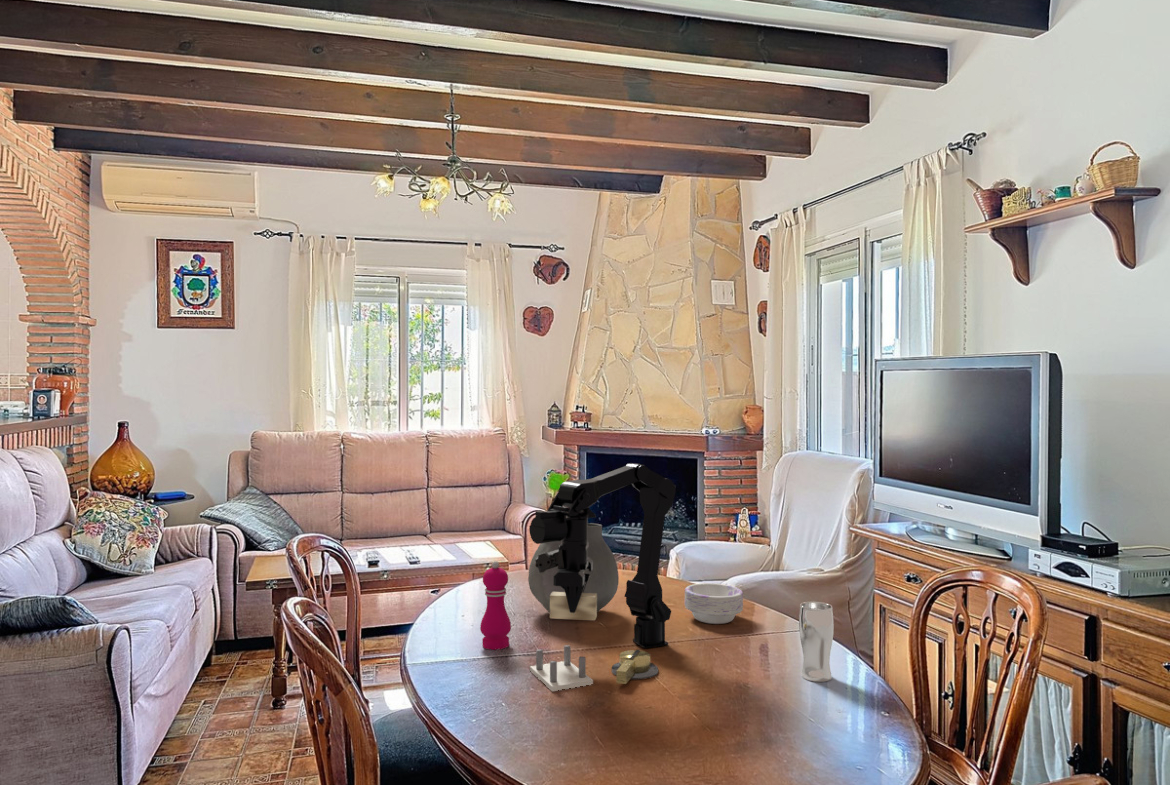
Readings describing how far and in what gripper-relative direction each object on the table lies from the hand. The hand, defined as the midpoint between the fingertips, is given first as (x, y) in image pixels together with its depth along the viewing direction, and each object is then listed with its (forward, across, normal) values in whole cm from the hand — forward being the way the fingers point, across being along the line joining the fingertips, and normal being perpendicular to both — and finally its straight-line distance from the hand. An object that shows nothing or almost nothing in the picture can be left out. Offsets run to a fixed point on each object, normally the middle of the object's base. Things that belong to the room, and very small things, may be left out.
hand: (573, 610), depth 175 cm
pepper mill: (+12, -11, -20) cm, 26 cm away
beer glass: (+12, +1, +52) cm, 53 cm away
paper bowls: (+11, -39, +32) cm, 52 cm away
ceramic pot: (+12, -39, -6) cm, 41 cm away
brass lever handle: (+11, +6, +13) cm, 18 cm away
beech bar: (+2, 0, 0) cm, 2 cm away
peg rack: (+12, +8, -2) cm, 15 cm away
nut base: (+12, +2, +14) cm, 18 cm away
